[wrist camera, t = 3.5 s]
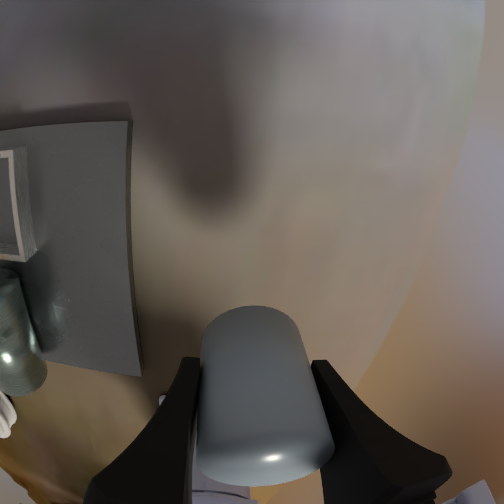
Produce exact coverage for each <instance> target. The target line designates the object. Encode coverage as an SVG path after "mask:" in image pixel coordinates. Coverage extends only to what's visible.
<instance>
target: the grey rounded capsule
mask: <svg viewBox="0 0 504 504" xmlns="http://www.w3.org/2000/svg"><path fill="white" fill-rule="evenodd" d="M334 451H335V445H334V442H333V438H332V435H331V432H330V428H329V425H328V422H327V419H326V415H325V412H324V409H323V405H322V402H321V399H320V396H319V392H318V389H317V386H316V383H315V380H314V376H313V373H312V370H311V367H310V364H309V361H308V357H307V354H306V351H305V348H304V345H303V342H302V339H301V335H300V332H299V329H298V327H297V325H296V324H295V322H294V321H293V320H292V319H291V318H290V317H289V316H288V315H286V314H285V313H283V312H281V311H279V310H276V309H274V308H270V307H265V306H243V307H238V308H235V309H232V310H229V311H227V312H225V313H223V314H221V315H219V316H218V317H217V318H215V319H214V320H213V321H212V322H211V323H210V324H209V325H208V327H207V328H206V330H205V332H204V334H203V337H202V342H201V356H200V379H199V393H198V411H197V437H196V465H197V467H198V469H199V470H200V471H201V473H203V474H204V475H205V476H207V477H209V478H211V479H213V480H215V481H218V482H221V483H226V484H230V485H237V486H268V485H275V484H281V483H285V482H289V481H293V480H296V479H299V478H301V477H304V476H306V475H309V474H311V473H312V472H314V471H316V470H318V469H319V468H321V467H322V466H323V465H325V464H326V463H327V462H328V461H329V460H330V459H331V457H332V456H333V454H334Z"/></svg>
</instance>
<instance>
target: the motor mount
mask: <svg viewBox="0 0 504 504" xmlns="http://www.w3.org/2000/svg"><path fill="white" fill-rule="evenodd" d="M132 127H133V120H131V121H92V122H74V123H60V124H49V125H39V126H30V127H22V128H14V129H7V130H0V390H1V391H2V392H4V393H5V394H7V395H10V396H15V397H20V396H26V395H29V394H31V393H33V392H34V391H36V390H37V389H38V388H40V386H41V385H42V384H43V383H44V381H45V379H46V376H47V365H46V363H45V360H47V361H52V362H56V363H61V364H66V365H71V366H76V367H81V368H86V369H92V370H98V371H104V372H110V373H116V374H123V375H130V376H138V377H142V374H143V370H144V365H143V359H142V352H141V345H140V337H139V329H138V320H137V311H136V301H135V290H134V277H133V262H132V242H131V201H130V187H131V147H132Z"/></svg>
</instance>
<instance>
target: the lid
mask: <svg viewBox="0 0 504 504" xmlns="http://www.w3.org/2000/svg"><path fill="white" fill-rule="evenodd" d="M16 419H17V415H16V412H15V409H14V407H13V405H12V404H11V402H10V401H9V399H8V398H7V397H6V395H5V394H4V393H3V392H2V391H1V390H0V438H7V437H9V436H10V433H11V430H10V428H11V425H12V424H14V423H15V421H16Z"/></svg>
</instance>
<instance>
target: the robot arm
mask: <svg viewBox="0 0 504 504" xmlns="http://www.w3.org/2000/svg"><path fill="white" fill-rule="evenodd" d="M311 370H312V373H313V376H314V380H315V383H316V386H317V389H318V392H319V396H320V399H321V402H322V405H323V409H324V412H325V415H326V419H327V422H328V425H329V428H330V432H331V435H332V438H333V442H334V445H335V451H334V454H333V456H332V457H331V459H330V460H329V461H328V462H327V463H326V464H325V465H323V466H322V467H321V468H320V472H321V479H322V487H323V495H324V504H435V502H434V500H433V499H435V498H436V494H435V490H436V489H437V488H439V487H440V486H441V485H442V484H444V483H445V482H446V481H447V480H448V479H449V478H450V477H451V476H452V470H451V468H450V466H449V464H448V462H447V460H446V458H445V457H444V456H442V455H440V454H437V453H435V452H433V451H431V450H428V449H426V448H424V447H422V446H420V445H419V444H417V443H415V442H413V441H411V440H410V439H408V438H406V437H405V436H403V435H402V434H400V433H399V432H397V431H396V430H395V429H393V428H392V427H390V426H389V425H388V424H387V423H385V422H384V421H383V420H382V419H381V418H379V417H378V416H377V415H376V414H375V413H374V412H372V411H371V410H370V409H369V408H368V407H367V406H366V405H365V404H364V403H363V402H362V401H361V400H360V399H359V397H357V395H356V394H355V393H354V392H353V391H352V390H351V389H350V387H349V386H348V385H347V384H346V383H345V382H344V380H343V379H342V378H341V377H340V376H339V374H338V373H337V372H336V371H335V370H334V368H333V367H332V366H331V365H330V363H329V362H328V361H327V360H313V361H312V364H311ZM199 379H200V358H195V357H184V358H182V361H181V364H180V367H179V370H178V372H177V374H176V377H175V379H174V381H173V383H172V385H171V387H170V389H169V391H168V392H167V394H166V395H162V396H160V397H159V405H160V406H159V408H158V409H157V411H156V412H155V414H154V415H153V417H152V418H151V420H150V421H149V422H148V424H147V425H146V426H145V428H144V429H143V430H142V431H141V433H140V434H139V435H138V436H137V437H136V438H135V440H134V441H133V442H132V443H131V444H130V445H129V446H128V447H127V448H126V449H125V450H124V451H123V452H122V453H121V454H120V455H119V456H118V457H117V458H116V459H115V460H114V461H113V462H112V463H110V464H109V465H108V466H107V467H105V468H104V469H103V470H102V471H100V472H99V473H98V474H97V475H95V476H94V477H93V478H92V480H91V481H90V483H89V485H88V488H87V490H86V493H85V496H84V501H83V504H258V500H251V497H250V487H249V486H237V485H230V484H226V483H221V482H218V481H215V480H213V479H211V478H209V477H207V476H205V475H204V474H203V473H201V471H200V470H199V469H198V467H197V465H196V437H197V411H198V393H199ZM19 504H21V503H19ZM442 504H496V503H495V501H494V499H493V497H492V494H491V492H490V490H489V488H488V486H487V484H486V482H485V480H482V481H480V482H478V483H476V484H474V485H472V486H470V487H469V488H467V489H465V490H464V491H462V492H461V493H460V494H458V495H457V496H456V497H455V498H453V499H451V500H449V501H446V502H444V503H442Z"/></svg>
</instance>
